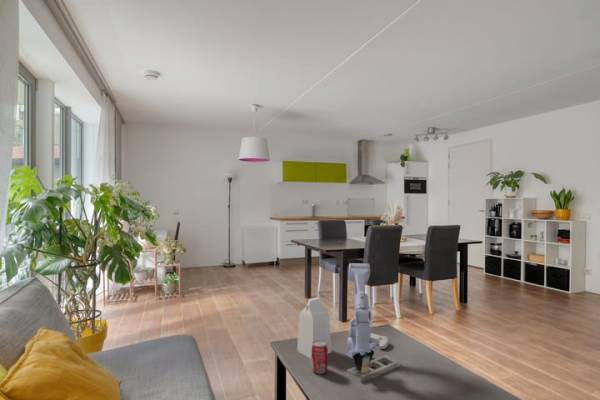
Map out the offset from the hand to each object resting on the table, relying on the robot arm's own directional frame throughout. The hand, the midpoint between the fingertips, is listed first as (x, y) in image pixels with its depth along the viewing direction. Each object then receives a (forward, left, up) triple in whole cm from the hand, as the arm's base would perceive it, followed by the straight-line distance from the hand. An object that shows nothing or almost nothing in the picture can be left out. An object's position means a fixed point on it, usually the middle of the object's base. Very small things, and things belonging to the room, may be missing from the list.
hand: (362, 368), depth 145 cm
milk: (-29, -4, -3) cm, 29 cm away
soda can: (-13, -13, -3) cm, 19 cm away
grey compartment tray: (0, +7, -3) cm, 8 cm away
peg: (0, 0, -2) cm, 2 cm away
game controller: (-18, +27, -3) cm, 33 cm away
